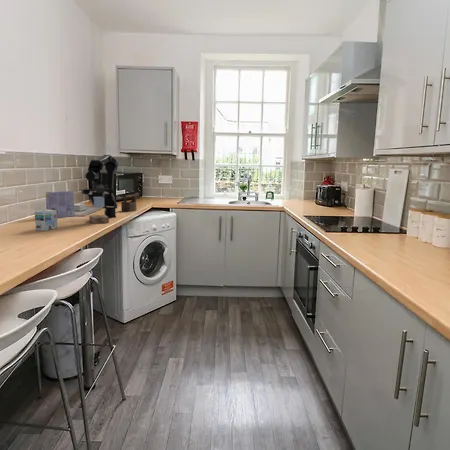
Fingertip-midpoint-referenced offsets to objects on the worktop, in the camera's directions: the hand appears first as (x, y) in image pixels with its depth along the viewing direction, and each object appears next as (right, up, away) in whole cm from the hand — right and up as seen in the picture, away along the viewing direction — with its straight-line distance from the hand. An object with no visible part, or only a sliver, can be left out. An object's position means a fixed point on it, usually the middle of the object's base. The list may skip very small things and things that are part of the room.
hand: (98, 204), depth 233 cm
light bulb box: (-21, -16, -24) cm, 35 cm away
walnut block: (0, -11, +2) cm, 12 cm away
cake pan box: (-31, -8, +17) cm, 36 cm away
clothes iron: (+7, -2, +54) cm, 54 cm away
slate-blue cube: (0, -1, 0) cm, 1 cm away
